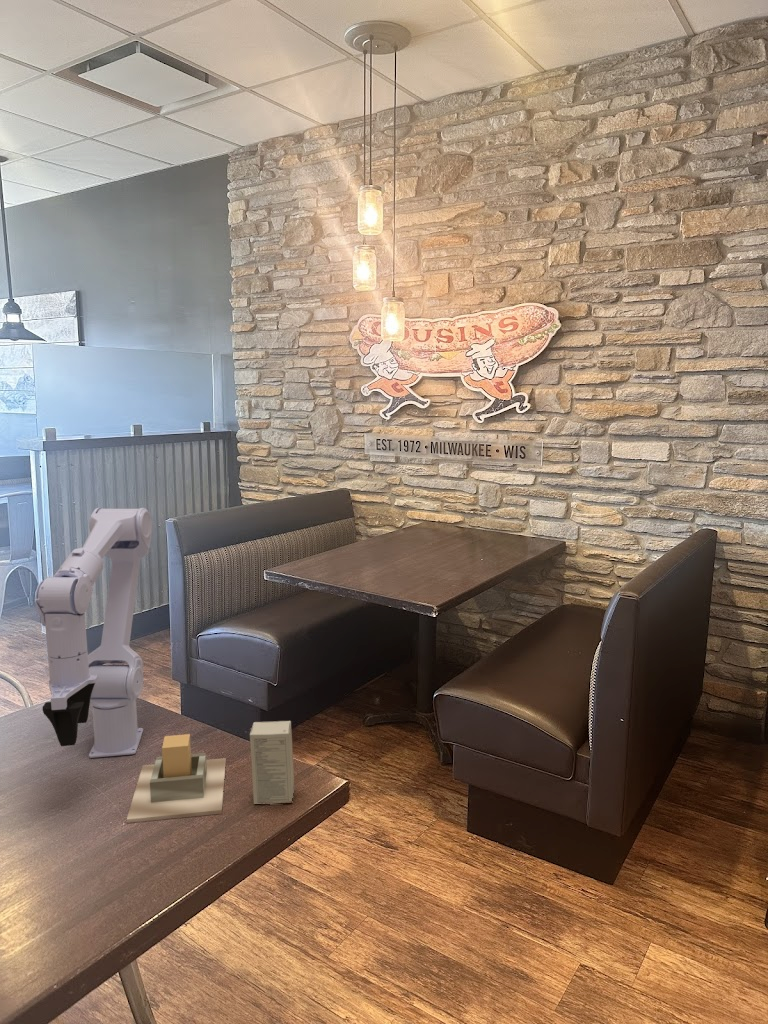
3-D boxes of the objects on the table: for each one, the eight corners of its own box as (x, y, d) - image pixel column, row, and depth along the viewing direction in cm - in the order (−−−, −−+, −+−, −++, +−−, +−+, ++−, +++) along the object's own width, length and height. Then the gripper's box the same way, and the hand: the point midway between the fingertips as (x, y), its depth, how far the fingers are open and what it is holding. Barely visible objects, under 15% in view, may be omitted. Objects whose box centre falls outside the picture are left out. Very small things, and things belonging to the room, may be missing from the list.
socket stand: (143, 768, 125) (141, 746, 124) (226, 761, 127) (225, 740, 126) (126, 823, 109) (125, 798, 108) (221, 813, 111) (220, 789, 111)
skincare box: (294, 789, 118) (292, 720, 116) (292, 805, 114) (290, 733, 112) (255, 790, 118) (253, 720, 116) (251, 806, 113) (249, 734, 111)
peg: (167, 781, 119) (164, 736, 118) (192, 778, 120) (189, 733, 119) (164, 794, 116) (162, 748, 114) (190, 791, 116) (188, 745, 115)
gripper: (84, 667, 107) (90, 753, 109) (104, 635, 121) (109, 711, 123) (33, 670, 106) (40, 757, 108) (59, 637, 120) (65, 714, 122)
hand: (74, 733), depth 115 cm, fingers open, 7 cm apart
